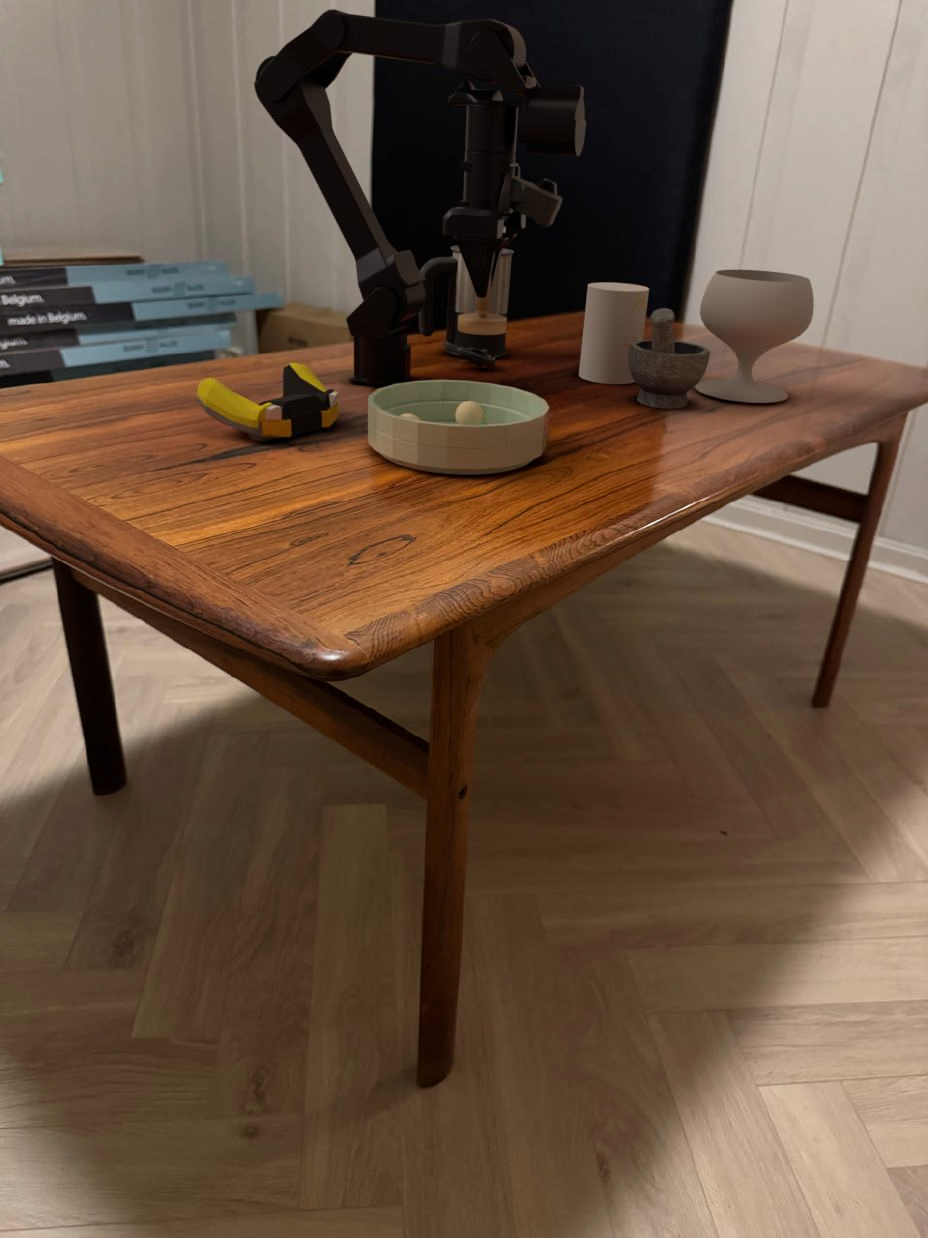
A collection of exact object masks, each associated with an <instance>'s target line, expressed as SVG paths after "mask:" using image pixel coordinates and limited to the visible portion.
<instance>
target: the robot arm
mask: <svg viewBox="0 0 928 1238" xmlns="http://www.w3.org/2000/svg"><path fill="white" fill-rule="evenodd" d="M353 54H358V55H366V56H371V57H378V58H379V57H380V58H387V59H394V60H401V61H409V62H415V63H423V64H430V65H438V66H440V67H443V68H446V69H448V70H451V71H453V72H456V73H459V74H462V75H465V76H467V77H470V78H473V79H475V80H478V81H482V82H486V83H490V84H494V85H497V86H499V87H500V88H501V89H502V90H503V91H505V92H507V93H511V94H515V95H519V96H523V101H519V100H518V101H514V100H504V99H503V94H502V93H501V91H500V90H499V89H486V88H485V89H481V88H480V89H479V88H476V87H475V86H474V85H473V83H472V82H471V81H467V80H464V81H462V82H461V85H460V86H459V87H458V89H456V91H454V92H453V93H452V94H451V95H450V96H449V97H448V103H449V104H450V105H453V106H460V107H462V106H463V107H466V123H465V125H466V126H465V148H464V149H465V152H464V160H460V163H459V164H460V165H459V167H460V169H459V171H460V172H464V173H463V175H464V177H463V200H460V201H458V206H457V207H452V208H450V209H449V210H448V211H447V212H446V213H445V214H443V216H442V230H441V231H442V233H441V235H442V236H445V237H453V240H454V241H455V242H456V246H458V247H459V250H460V252H461V255H462V257H463V260H464V262H465V265H466V268H467V270H468V273H469V276H470V279H471V282H472V284H473V287H474V290H475V293H476V296H477V297H479V298H485V297H486V296H487V291H488V287H489V282H490V277H491V288H492V284H493V281H494V277H495V273H496V270H497V266H498V263H499V259H500V256H501V252H502V249H503V248H504V249H505V247H506V246H507V245H508V244H509V243H510V242H511V241H512V240H513V239H515V238H516V237H517V235H518V233H514V232H507V231H506V228H507V227H512V228H516V229H518V230H522V229H525V228H526V221H527V218H529V219H531V220H534V222H535V224H538V225H539V226H542V227H545V228H549V227H550V226H551V227H552V226H553V224H554V221H555V219H556V217H557V214H558V212H559V210H560V209H561V205H562V203H563V200H564V199H563V197H562V196H561V195H558V189H557V188H558V187H557V183H556V182H554V181H552V180H550V179H548V178H543V179H541V180H540V182H538V183H537V184H535V183H534V182H530V181H527V180H525V179H523V178H521V165H519V163H517V162H516V150H517V149H516V147H517V136H518V141H519V143H520V144H521V145H525V146H526V151H527V154H529V155H538V156H539V155H541V156H542V155H543V156H563V157H580V156H581V153H582V151H583V147H584V143H585V136H586V129H587V121H586V120H585V114H586V113H585V103H584V92H585V89H584V87H583V86H581V85H573V84H572V85H571V84H570V85H565V86H540V84H539V83H538V81H537V78H536V77H535V75H534V74H533V73H534V72H532V70H531V68H530V66H529V64H528V62H527V61H526V60H527V48H526V43H525V39H524V38H523V36H522V34H520V32H519V30H517V29H516V28H515V27H513V26H511V25H508V24H506V23H504V22H502V21H500V20H497V19H494V18H479V19H467V20H458V21H455V22H450V23H443V24H431V23H424V22H417V21H416V22H415V21H408V20H401V19H400V20H399V19H393V18H386V17H385V18H384V17H376V16H370V15H363V14H354V13H347V12H345V11H342V10H338V9H335V8H333V9H327V10H325V11H324V12H323V13H321V14H320V15H319V16H318V17H317V18H316V19H315V21H314V22H313V23H312V24H311V25H310V26H309V27H307V29H305V30H304V31H302V32H301V33H300V34H298V35H296V37H293V38H292V39H291V40H290V41H289V42H287V43H286V44H285V45H284V46H283V47H282V48H281V49H280V50H279V51H278V52H277V53H276V54H275V55H271V56H268V57H267V58H264V59H263V61H262V62H261V63H260V64H259V65H258V68H257V70H256V73H255V81H253V86H254V91H255V94H256V97H257V99H258V101H259V102H260V104H261V105H262V106H263V108H264V110H265V111H266V112H267V113H268V115H269V116H270V118H271V119H272V120H273V122H274V123H275V125H276V126H277V127H278V128H279V129H280V130H281V131H282V132H283V133H284V134H285V135H286V136H287V137H288V138H289V139H290V140H291V141H292V142H293V143H294V144H295V145H296V146H297V148H298V149H299V152H300V153H301V155H302V158H303V159H304V161H305V163H306V166H307V167H308V169H309V171H310V172H311V175H312V177H313V179H314V181H315V183H316V185H317V187H318V189H319V191H320V194H321V195H322V197H323V199H324V201H325V203H326V204H327V207H328V209H329V211H330V212H331V214H332V217H333V218H334V220H335V222H336V224H337V226H338V228H339V231H340V233H341V234H342V236H343V238H344V240H345V242H346V245H347V246H348V248H349V250H350V252H351V255H352V256H353V258H354V261H355V262H354V263H355V269H356V278H357V279H356V280H357V287H358V289H359V292H360V295H361V298H362V302H361V303H360V304H359V305H357V307H356V308H355V309H353V311H352V312H351V313H350V314H349V315H348V316H347V317H346V319H345V321H346V325H347V328H348V331H349V333H350V336H352V337H353V376H350V377H348V381H349V383H353V384H361V385H370V386H379V387H386V386H390V385H393V384H398V383H406V381H408V380H409V379H411V378H412V376H411V375H412V374H411V371H412V369H411V367H412V366H411V365H412V345H411V344H409V343H408V332H407V331H404V330H409V328H410V326H411V323H412V321H413V318H414V317H415V316H416V315H419V312H420V310H421V309H422V307H423V304H424V301H425V298H426V293H425V288H424V285H423V283H422V282H423V281H426V278H425V277H424V276H423V275H422V274H421V273H420V270H419V268H418V266H417V263H416V259H415V257H414V255H413V253H412V250H410V249H408V250H403V251H397V249H395V248H394V246H392V244H391V243H390V242H389V240H388V239H387V236H386V234H385V233H384V231H383V229H382V227H381V225H380V223H379V221H378V218H377V216H376V215H375V212H374V210H373V208H372V206H371V204H370V202H369V200H368V197H367V196H366V193H365V192H364V190H363V188H362V186H361V184H360V182H359V180H358V178H357V176H356V173H355V172H354V170H353V168H352V165H351V164H350V162H349V159H348V158H347V156H346V154H345V152H344V150H343V148H342V146H341V144H340V141H339V139H338V138H337V136H336V133H335V131H334V127H333V120H332V119H333V118H332V109H331V103H330V100H329V97H328V94H327V93H328V92H327V90H326V89H328V88H329V86H330V85H332V83H334V82H335V80H336V79H337V77H338V76H339V74H340V72H341V71H342V69H343V67H344V66H345V64H346V62H347V60H348V59H349V58H351V56H352V55H353ZM490 291H491V289H490Z"/></svg>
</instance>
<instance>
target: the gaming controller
mask: <svg viewBox="0 0 928 1238" xmlns="http://www.w3.org/2000/svg"><path fill="white" fill-rule="evenodd" d="M339 397H340V393H339V392H337V390H335V389H333V388H329V389H327V388H326V387H325V385H324V384H323V383H322V382H321V381H320V380H319V378H318V377H317V376H316V375H315V374H314V372H313V371H312V370H311V368H309V367H308V366H306V365H304V364H302V363H300V362H295V361H293V362H290V363H288V364H286V365H285V366H283V371H282V396H281V397H277V398H272V399H268V400H264V401H262V402H259V403H256V402H254V401H252V400H250V399H248V398H246V397H244V396H242V395H241V394H239V393H237V392H234V391H232V390H231V389H230V388H229V387H227V386H225V385H224V384H223V383H221V382H220V381H218V380H216V379H214V378H212V377H207V378H204V379H203V380H201V381H199V384H198V386H197V393H196V402H197V404H198V405H199V406H200V407H201V408H202V410H203V411H204V412H205V413H206V414H207V415H209V417H212V418H213V419H214V420H215V421H217V422H219V423H221V424H223V425H225V426H228V427H230V428H232V429H235V430H237V431H239V432H242V433H245V434H247V435H248V437H249V438H250V440H252V441H256V442H269V441H271V440H273V439H282V438H290V437H294V436H298V435H302V434H306V433H310V432H313V431H317V430H322V429H323V428H330V427H331V426H332V425H333V424H334V422H335V421H336V420H337V418H338V417H339V403H338V399H339Z"/></svg>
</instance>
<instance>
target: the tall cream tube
mask: <svg viewBox="0 0 928 1238" xmlns="http://www.w3.org/2000/svg"><path fill="white" fill-rule="evenodd" d="M649 293H650V288H649V287H647V286H644V285H640V284H634V283H623V282H591V283H588V284H587V291H586V301H585V311H584V320H583V330H582V340H581V350H580V360H579V369H578V377H579V378H581V379H583V380H585V381H589V382H592V383H599V384H604V385H605V384H606V385H607V384H609V385H628V384H633V383H636V382H635V381H634V379H633V377H632V375H631V372H630V369H629V356H628V354H629V347H630V344H631V343H633V342H635V341H637V340H644V331H645V326H646V325H645V324H646V316H647V309H648V301H649Z"/></svg>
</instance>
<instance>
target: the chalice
mask: <svg viewBox="0 0 928 1238" xmlns="http://www.w3.org/2000/svg"><path fill="white" fill-rule="evenodd" d="M814 299H815V298H814V291H813V287H812V282H811V280H810V278H808V277H806V276H802V275H798V274H794V273H793V274H792V273H786V272H778V271H770V270H759V269H758V270H757V269H755V270H754V269H721V270H717V271H715V273H713V275H712V276H711V278H710V279H709V281H708V284H707V286H706V288H705V290H704V293H703V296H702V299H701V301H700V302H701V303H700V307H699V315H700V316H699V317H700V320H701V322H702V324H703V326H704V327H705V329H706V330H707V331H708V332H710V333H711V334H712V335H714V336H715V337H716V338H718V339H719V340H720V341H722V342H723V343H724V344H725V345H726V346H727V347H728V348H730V349H731V350H732V352H733V353H734V354H735V357H736V359H737V364H738V365H737V366H738V367H737V370H736V373H735V374H734V375H733V376H732V377H730V378H712V379H706V380H700V381H699V382H698V384H697V385H695V386H694V388H695V390H697V391H698V392H699V393H702V394H703V395H706V396H709V397H713V398H716V399H720V400H725V401H730V402H736V403H737V402H739V403H748V404H769V403H778V402H782V401H785V400H787V399H788V397H789V395H788V394H787V392H786V391H785V390H783V389H782V388H780V387H777V386H774V385H771V384H767V383H764V382H760V381H756V380H755V378H754V376H753V367H754V365H755V363H756V361H758V359H759V358H760V357H761V356H762V355H765V354H766V353H767V352H769V351H771V350H774V349H775V348H777V347H780V346H782V345H784V344H787V343H789V342H791V341H793V340H796V339H797V338H799V337H800V336H802V335H803V334H804V333H805V332H806V331H807V330H808V328H809V327H810V325H811V323H812V320H813V316H814V308H815V307H814V305H815V304H814V303H815V301H814Z"/></svg>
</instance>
